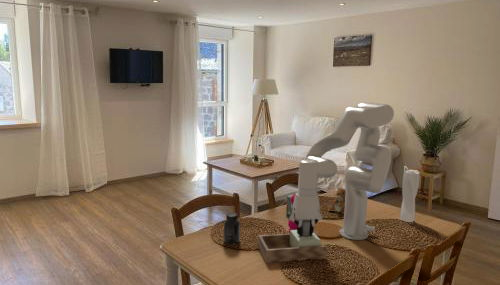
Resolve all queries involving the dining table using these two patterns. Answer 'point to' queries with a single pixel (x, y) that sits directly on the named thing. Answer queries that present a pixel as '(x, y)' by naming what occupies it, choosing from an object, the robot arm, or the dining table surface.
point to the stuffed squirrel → (339, 201)
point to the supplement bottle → (232, 228)
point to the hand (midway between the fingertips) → (305, 234)
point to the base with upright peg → (304, 237)
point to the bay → (287, 249)
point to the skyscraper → (409, 195)
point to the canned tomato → (289, 206)
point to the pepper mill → (290, 223)
